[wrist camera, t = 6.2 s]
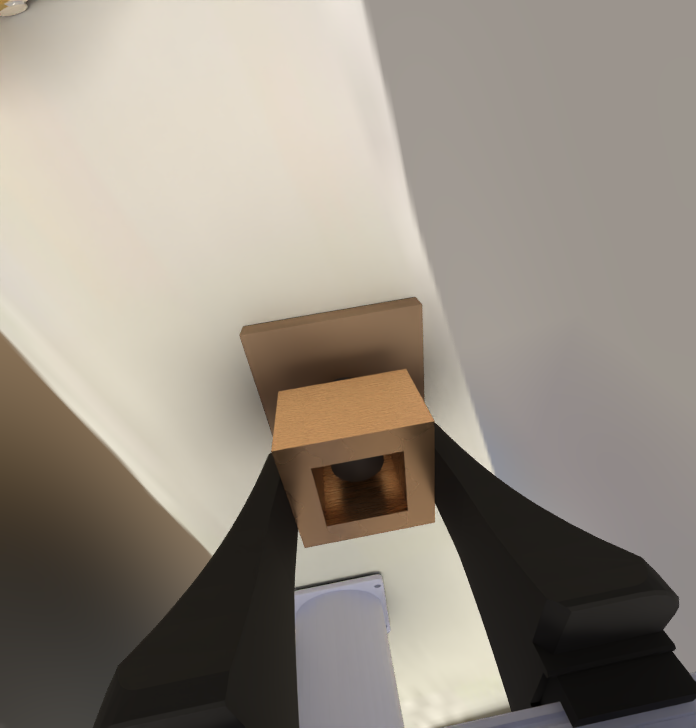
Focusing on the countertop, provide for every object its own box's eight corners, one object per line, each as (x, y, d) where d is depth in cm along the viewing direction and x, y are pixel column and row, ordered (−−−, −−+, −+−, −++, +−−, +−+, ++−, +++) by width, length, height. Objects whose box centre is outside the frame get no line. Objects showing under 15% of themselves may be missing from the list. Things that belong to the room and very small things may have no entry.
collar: (410, 460, 15) (434, 522, 12) (304, 480, 15) (304, 548, 12) (405, 368, 13) (434, 421, 10) (278, 391, 13) (271, 451, 10)
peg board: (419, 428, 19) (458, 510, 14) (283, 453, 19) (277, 545, 14) (415, 296, 15) (466, 350, 10) (243, 326, 15) (215, 395, 10)
